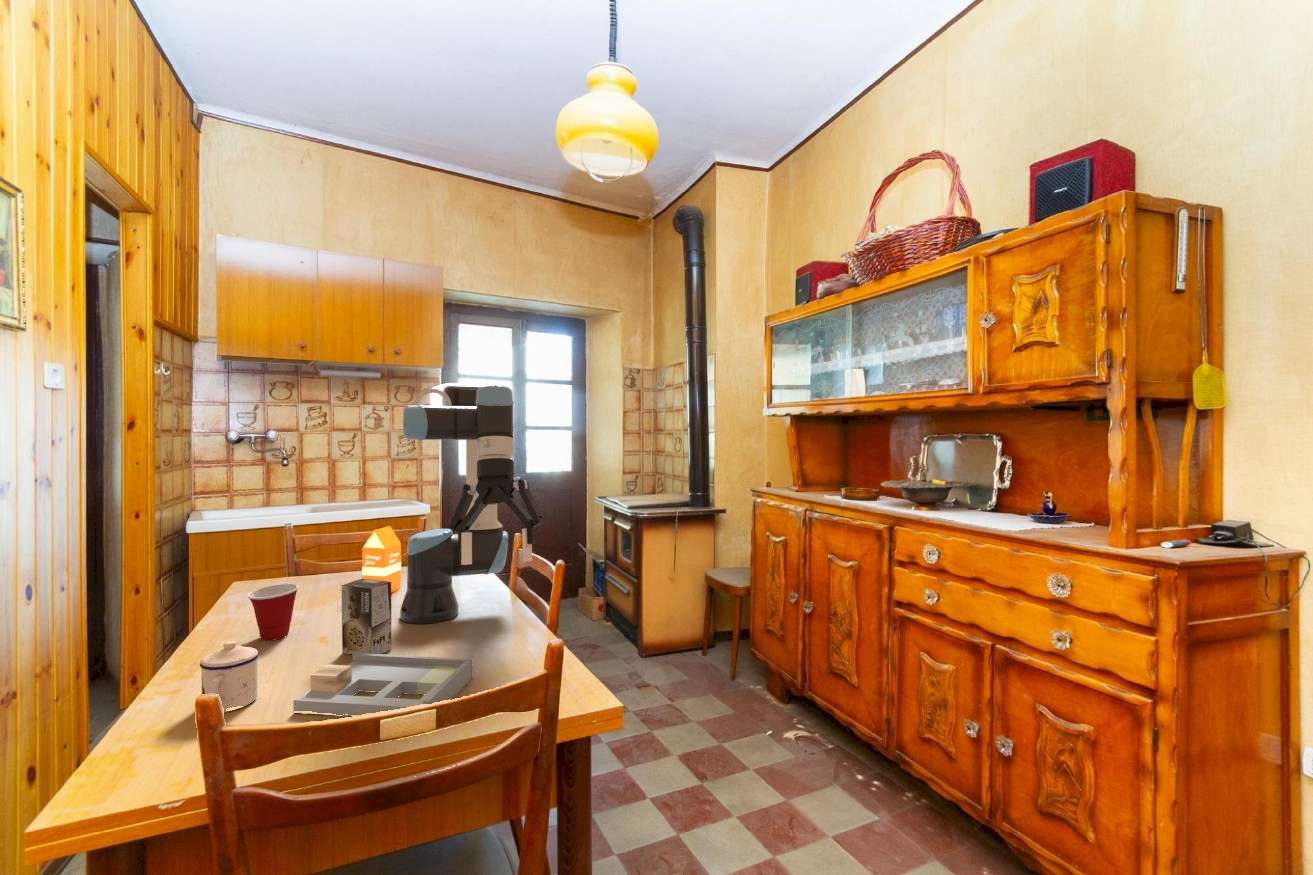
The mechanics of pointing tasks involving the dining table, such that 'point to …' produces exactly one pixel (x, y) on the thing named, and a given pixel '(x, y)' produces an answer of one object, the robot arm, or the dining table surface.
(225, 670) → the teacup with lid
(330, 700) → the grey compartment tray
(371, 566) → the orange juice
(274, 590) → the plastic cup
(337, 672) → the block
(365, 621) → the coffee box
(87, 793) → the dining table surface
